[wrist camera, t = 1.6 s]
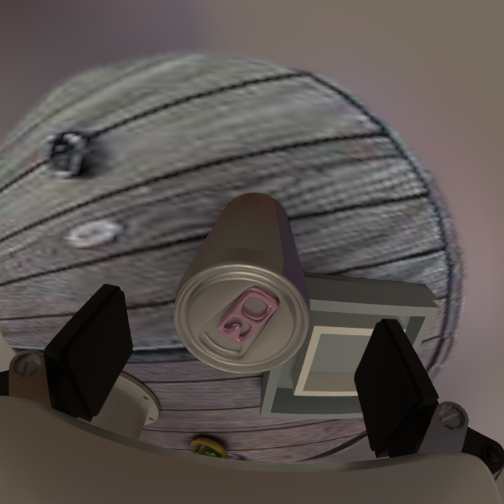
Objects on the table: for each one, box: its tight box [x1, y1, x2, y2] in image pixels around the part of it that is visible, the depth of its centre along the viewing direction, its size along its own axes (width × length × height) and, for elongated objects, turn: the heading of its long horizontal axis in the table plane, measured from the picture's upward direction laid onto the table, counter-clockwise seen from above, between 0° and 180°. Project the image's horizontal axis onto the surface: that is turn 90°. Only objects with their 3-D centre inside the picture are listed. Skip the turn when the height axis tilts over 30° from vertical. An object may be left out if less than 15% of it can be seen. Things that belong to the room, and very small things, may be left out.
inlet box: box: [260, 272, 440, 419], centre depth 27 cm, size 16×16×5 cm
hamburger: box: [191, 437, 229, 459], centre depth 33 cm, size 8×7×12 cm
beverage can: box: [173, 193, 310, 374], centre depth 18 cm, size 6×6×15 cm
